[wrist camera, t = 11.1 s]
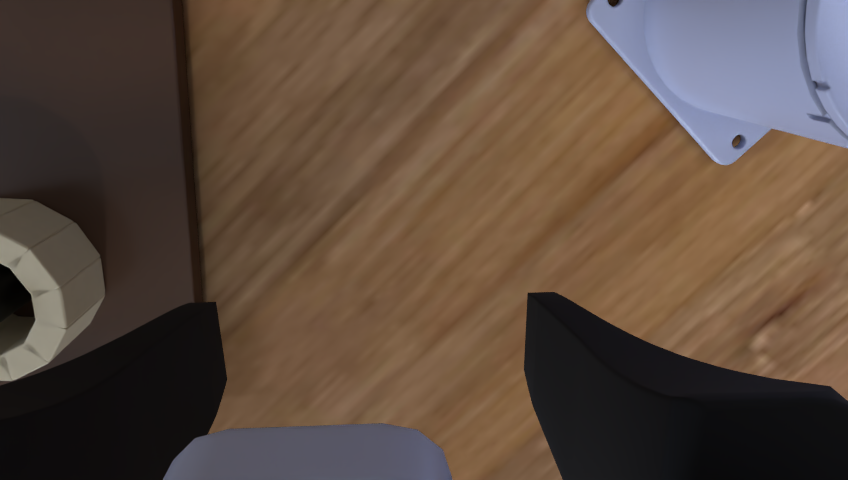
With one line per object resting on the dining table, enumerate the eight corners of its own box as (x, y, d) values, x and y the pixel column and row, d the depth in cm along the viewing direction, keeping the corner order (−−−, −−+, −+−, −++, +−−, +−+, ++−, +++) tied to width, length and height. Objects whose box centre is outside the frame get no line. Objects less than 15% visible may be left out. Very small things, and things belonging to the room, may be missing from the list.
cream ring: (-24, 167, 20) (-87, 188, 18) (130, 250, 22) (92, 281, 19) (-79, 293, 22) (-144, 330, 19) (68, 364, 23) (26, 407, 20)
